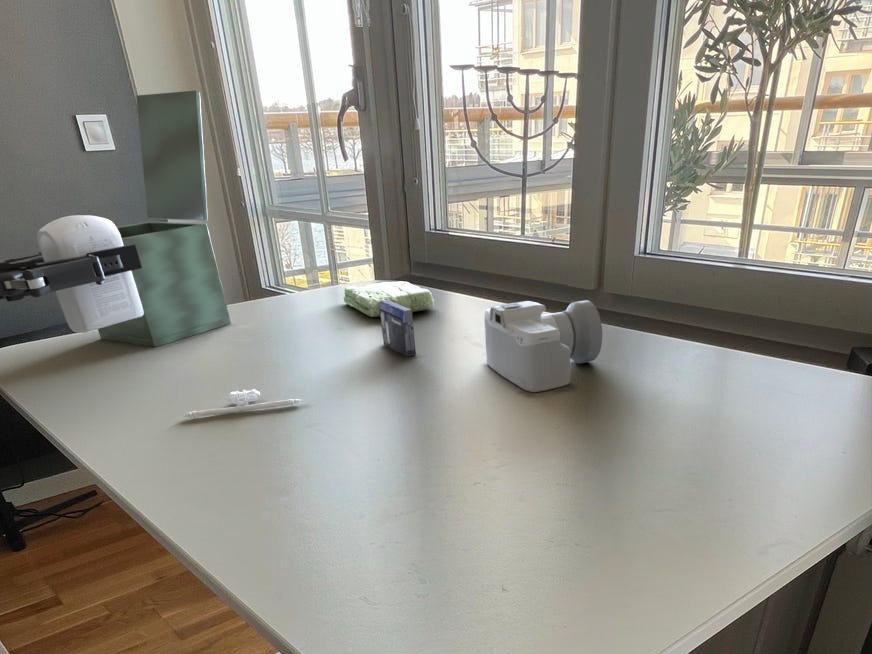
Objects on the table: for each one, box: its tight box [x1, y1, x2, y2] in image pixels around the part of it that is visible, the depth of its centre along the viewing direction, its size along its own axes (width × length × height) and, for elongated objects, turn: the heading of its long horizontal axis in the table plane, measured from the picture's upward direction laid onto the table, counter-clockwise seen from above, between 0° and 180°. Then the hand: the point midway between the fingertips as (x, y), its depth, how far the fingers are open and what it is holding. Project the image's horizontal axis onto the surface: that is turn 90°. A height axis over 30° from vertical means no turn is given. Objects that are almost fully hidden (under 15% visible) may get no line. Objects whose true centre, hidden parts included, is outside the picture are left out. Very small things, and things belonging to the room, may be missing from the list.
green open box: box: [97, 221, 232, 348], centre depth 114 cm, size 16×14×15 cm
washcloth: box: [343, 281, 435, 318], centre depth 125 cm, size 13×18×3 cm
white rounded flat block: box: [36, 214, 144, 334], centre depth 88 cm, size 10×4×12 cm, turn 153°
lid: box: [135, 90, 209, 222], centre depth 111 cm, size 17×14×1 cm
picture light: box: [183, 388, 303, 419], centre depth 85 cm, size 14×4×2 cm, turn 104°
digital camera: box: [483, 299, 603, 393], centre depth 89 cm, size 17×14×10 cm
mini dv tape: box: [379, 300, 417, 357], centre depth 101 cm, size 8×2×6 cm, turn 30°
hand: (124, 255), depth 91 cm, fingers closed on white rounded flat block, 4 cm apart
